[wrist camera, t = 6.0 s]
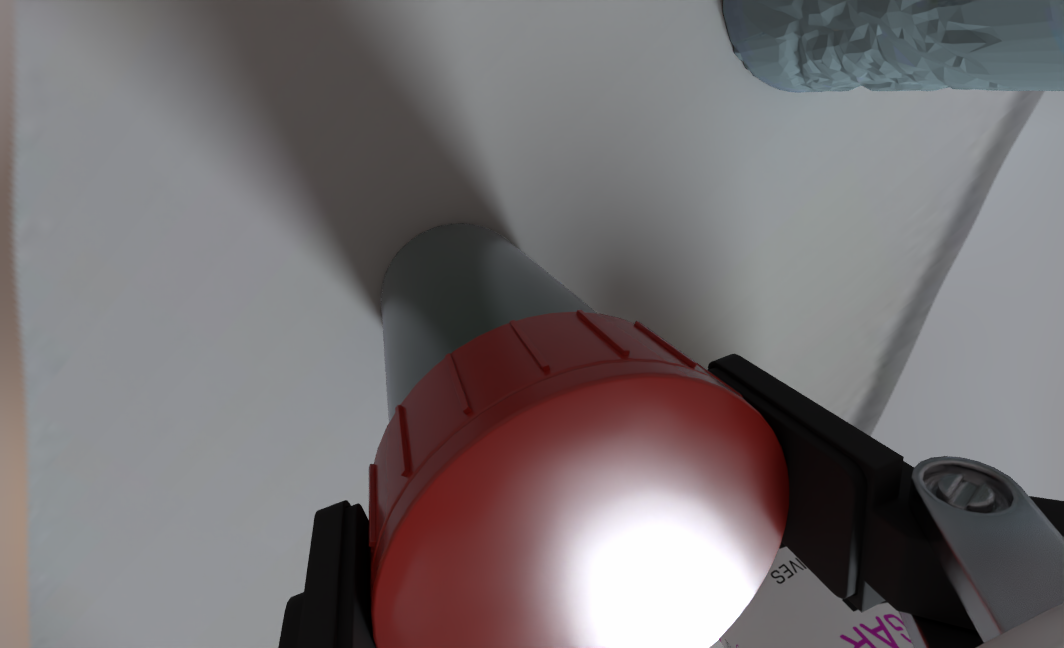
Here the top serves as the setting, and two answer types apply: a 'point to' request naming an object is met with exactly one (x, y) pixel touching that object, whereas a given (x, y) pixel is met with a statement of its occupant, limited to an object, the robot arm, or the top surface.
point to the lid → (571, 495)
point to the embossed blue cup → (900, 44)
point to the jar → (457, 298)
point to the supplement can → (810, 615)
